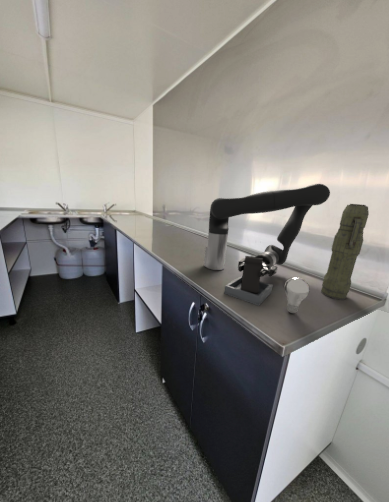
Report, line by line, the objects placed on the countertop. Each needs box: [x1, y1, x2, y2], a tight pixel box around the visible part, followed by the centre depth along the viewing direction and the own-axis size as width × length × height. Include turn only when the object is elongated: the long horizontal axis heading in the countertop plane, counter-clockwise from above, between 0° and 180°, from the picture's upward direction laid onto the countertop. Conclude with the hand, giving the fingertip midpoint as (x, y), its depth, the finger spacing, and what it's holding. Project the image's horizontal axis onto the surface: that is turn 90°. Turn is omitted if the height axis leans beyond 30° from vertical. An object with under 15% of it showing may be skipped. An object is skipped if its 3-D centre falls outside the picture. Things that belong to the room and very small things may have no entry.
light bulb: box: [283, 276, 310, 315], centre depth 66 cm, size 7×7×12 cm
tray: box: [223, 275, 273, 306], centre depth 80 cm, size 13×14×3 cm
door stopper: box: [241, 255, 263, 294], centre depth 78 cm, size 9×6×12 cm, turn 167°
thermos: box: [320, 203, 370, 301], centre depth 80 cm, size 9×12×35 cm
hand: (249, 271), depth 76 cm, fingers open, 7 cm apart
